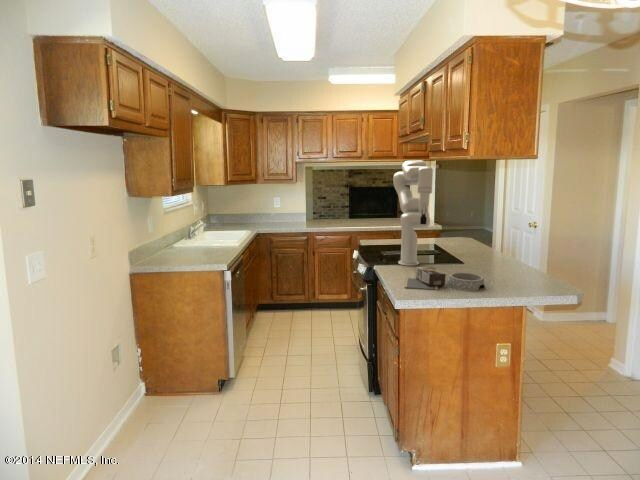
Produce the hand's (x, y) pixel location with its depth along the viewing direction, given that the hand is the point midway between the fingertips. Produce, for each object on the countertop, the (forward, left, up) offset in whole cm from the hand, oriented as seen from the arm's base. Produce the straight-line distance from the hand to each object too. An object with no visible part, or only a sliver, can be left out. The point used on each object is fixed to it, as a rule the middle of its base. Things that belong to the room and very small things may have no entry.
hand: (423, 224), depth 248 cm
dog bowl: (+18, +22, -29) cm, 41 cm away
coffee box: (+10, +1, -25) cm, 27 cm away
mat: (+20, 0, -29) cm, 35 cm away
